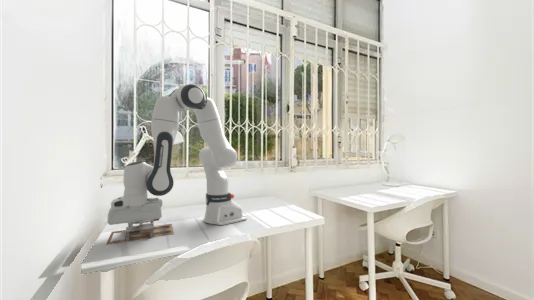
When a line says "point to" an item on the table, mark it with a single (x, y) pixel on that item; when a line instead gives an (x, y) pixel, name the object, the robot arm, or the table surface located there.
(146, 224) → the block
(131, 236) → the brown wooden flat frame
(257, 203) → the table surface
